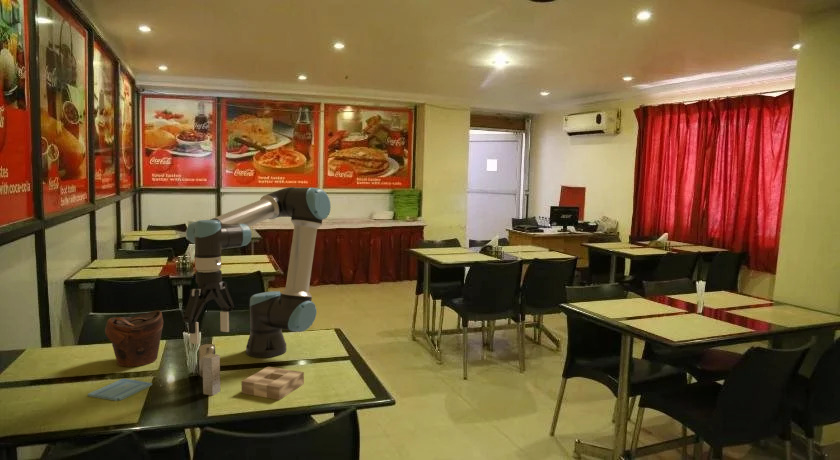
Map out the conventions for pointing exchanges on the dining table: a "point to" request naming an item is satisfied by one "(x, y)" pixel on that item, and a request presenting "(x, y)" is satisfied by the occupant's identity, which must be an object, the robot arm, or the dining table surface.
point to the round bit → (205, 351)
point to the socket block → (272, 383)
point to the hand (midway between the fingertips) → (210, 337)
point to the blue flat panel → (120, 389)
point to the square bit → (211, 374)
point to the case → (135, 338)
